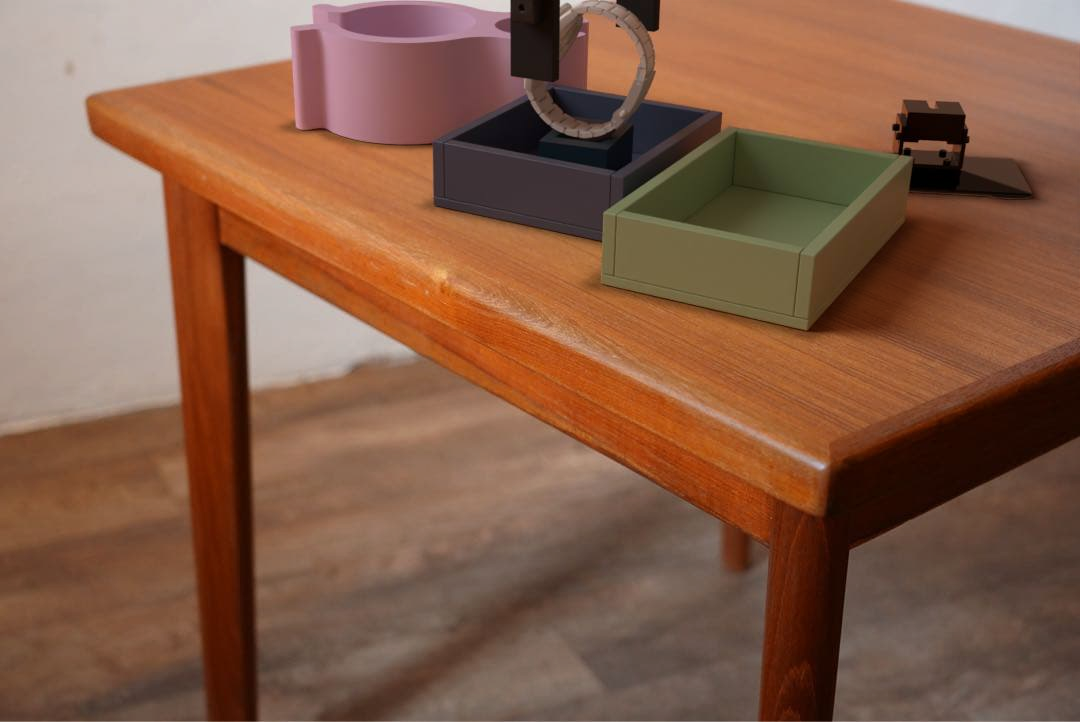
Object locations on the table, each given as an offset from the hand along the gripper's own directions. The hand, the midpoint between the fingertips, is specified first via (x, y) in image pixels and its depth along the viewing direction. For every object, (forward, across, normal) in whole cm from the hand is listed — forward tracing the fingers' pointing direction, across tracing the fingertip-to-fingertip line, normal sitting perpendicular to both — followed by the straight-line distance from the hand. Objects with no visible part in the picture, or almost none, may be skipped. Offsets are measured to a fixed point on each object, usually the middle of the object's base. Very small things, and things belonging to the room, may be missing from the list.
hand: (589, 52), depth 87 cm
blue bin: (+9, 0, 0) cm, 9 cm away
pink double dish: (+9, -8, -15) cm, 19 cm away
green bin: (+9, +4, +13) cm, 16 cm away
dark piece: (+9, -14, +18) cm, 24 cm away
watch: (+8, 0, 0) cm, 8 cm away
